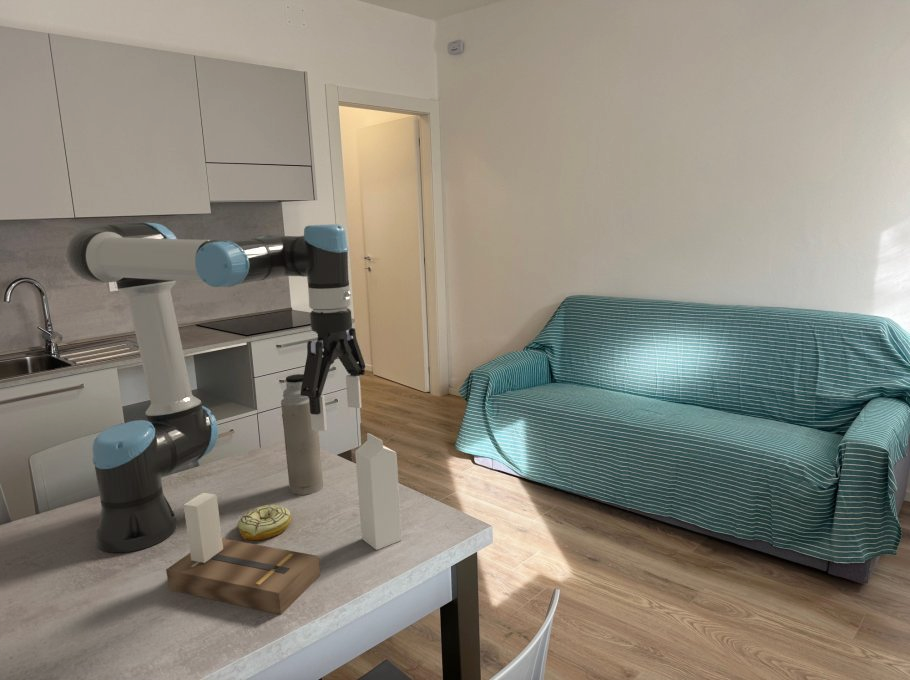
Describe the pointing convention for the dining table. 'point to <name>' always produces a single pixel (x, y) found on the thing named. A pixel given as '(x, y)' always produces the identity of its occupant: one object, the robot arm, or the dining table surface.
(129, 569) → the dining table surface
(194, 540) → the fader tab
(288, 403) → the thermos bottle
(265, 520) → the decorated donut
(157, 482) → the robot arm
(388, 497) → the milk
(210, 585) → the brown flat block
